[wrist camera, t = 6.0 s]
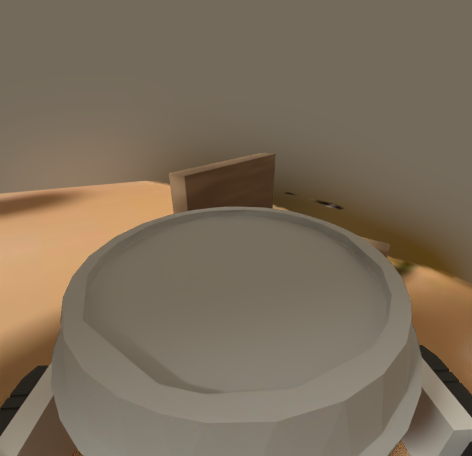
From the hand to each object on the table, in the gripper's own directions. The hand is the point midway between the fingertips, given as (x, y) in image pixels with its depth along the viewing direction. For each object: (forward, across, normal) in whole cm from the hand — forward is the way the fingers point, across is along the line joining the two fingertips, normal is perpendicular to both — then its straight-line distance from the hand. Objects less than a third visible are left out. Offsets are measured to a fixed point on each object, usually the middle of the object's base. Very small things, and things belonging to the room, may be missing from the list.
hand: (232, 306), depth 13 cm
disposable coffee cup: (-4, 0, -7) cm, 8 cm away
